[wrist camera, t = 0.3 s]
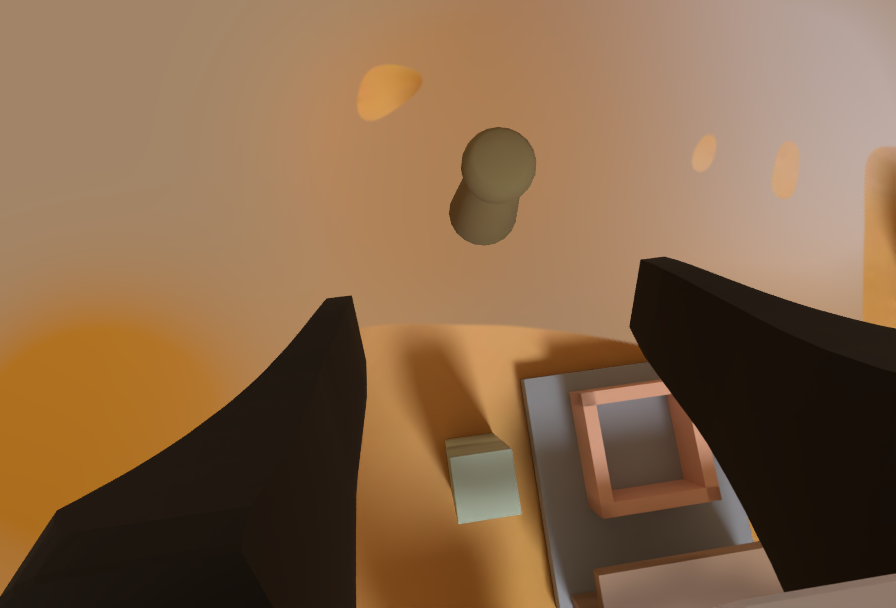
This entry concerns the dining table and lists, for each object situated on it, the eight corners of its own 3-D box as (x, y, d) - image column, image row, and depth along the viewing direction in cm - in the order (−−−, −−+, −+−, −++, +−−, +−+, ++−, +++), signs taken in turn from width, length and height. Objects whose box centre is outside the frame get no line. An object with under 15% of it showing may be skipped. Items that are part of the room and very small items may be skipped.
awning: (748, 578, 36) (838, 634, 28) (573, 609, 35) (615, 675, 27) (732, 505, 37) (815, 539, 29) (561, 532, 36) (598, 575, 28)
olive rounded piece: (472, 168, 42) (488, 95, 31) (528, 204, 42) (564, 143, 31) (436, 221, 41) (439, 165, 30) (493, 258, 41) (517, 214, 30)
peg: (499, 482, 38) (521, 514, 29) (451, 490, 38) (458, 524, 29) (492, 432, 39) (511, 448, 30) (444, 439, 38) (449, 457, 29)
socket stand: (749, 575, 38) (792, 601, 33) (556, 608, 37) (574, 640, 32) (700, 354, 40) (734, 351, 36) (520, 379, 39) (532, 379, 35)
